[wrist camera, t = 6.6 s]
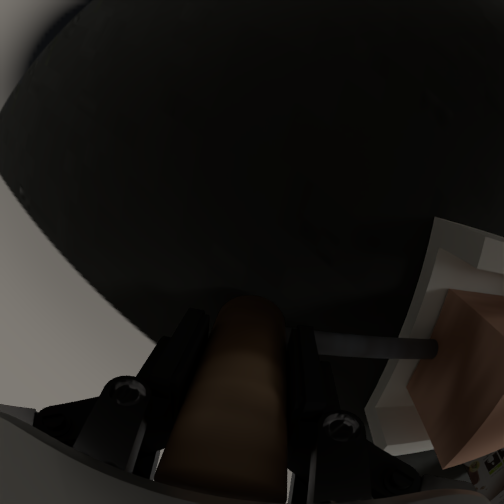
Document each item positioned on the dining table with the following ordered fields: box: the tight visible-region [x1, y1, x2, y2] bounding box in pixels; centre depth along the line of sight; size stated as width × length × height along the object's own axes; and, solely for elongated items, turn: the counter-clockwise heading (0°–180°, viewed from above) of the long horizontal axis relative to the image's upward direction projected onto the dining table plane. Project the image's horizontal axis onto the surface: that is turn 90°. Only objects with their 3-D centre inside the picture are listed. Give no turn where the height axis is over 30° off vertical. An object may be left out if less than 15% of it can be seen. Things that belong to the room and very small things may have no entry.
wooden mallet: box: [154, 289, 504, 504], centre depth 8 cm, size 6×16×8 cm, turn 83°
